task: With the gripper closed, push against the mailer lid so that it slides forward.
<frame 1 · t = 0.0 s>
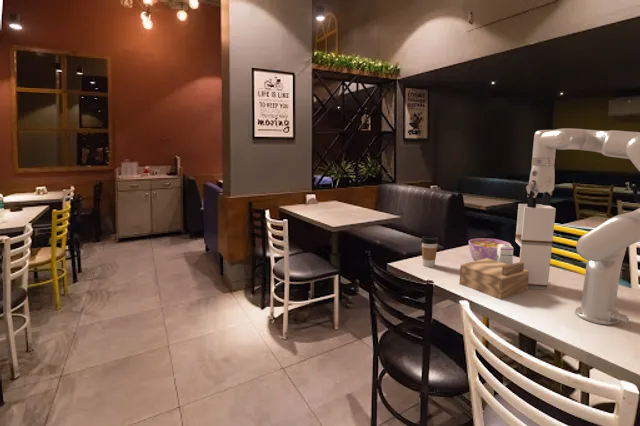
hand: (538, 206, 145), 37 cm above the table, tool pointing down, fingers open, 9 cm apart
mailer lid: (494, 264, 158), point 10 cm above the table, slide at 0.0 cm
tall white box: (529, 284, 163), on the table
bowl of food: (487, 264, 191), on the table
mailer base: (492, 287, 160), on the table
coffee cup: (428, 265, 190), on the table
syrup box: (503, 275, 175), on the table
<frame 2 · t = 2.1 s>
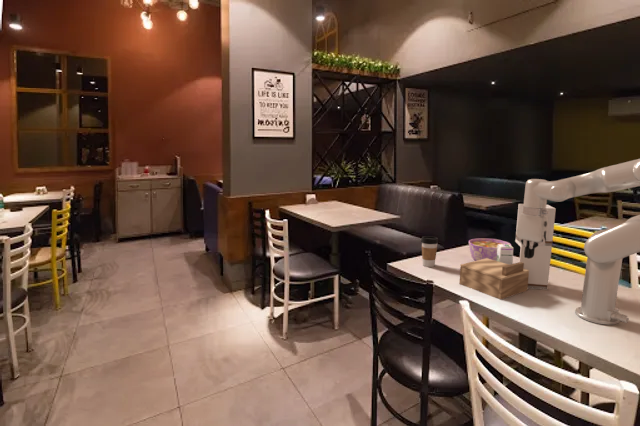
hand: (528, 257, 144), 17 cm above the table, tool pointing down, fingers closed
nothing on the table moved.
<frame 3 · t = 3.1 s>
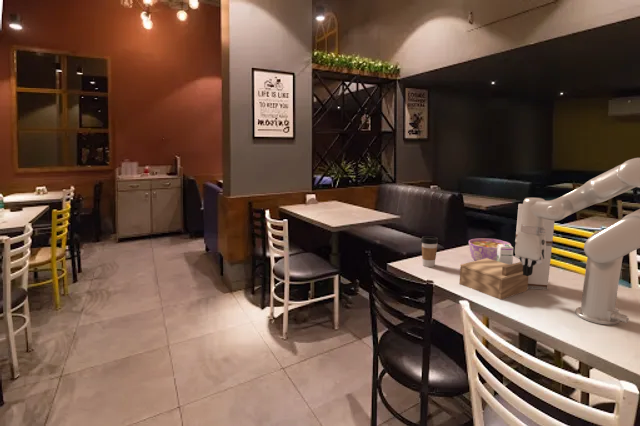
hand: (527, 274, 146), 10 cm above the table, tool pointing down, fingers closed
nothing on the table moved.
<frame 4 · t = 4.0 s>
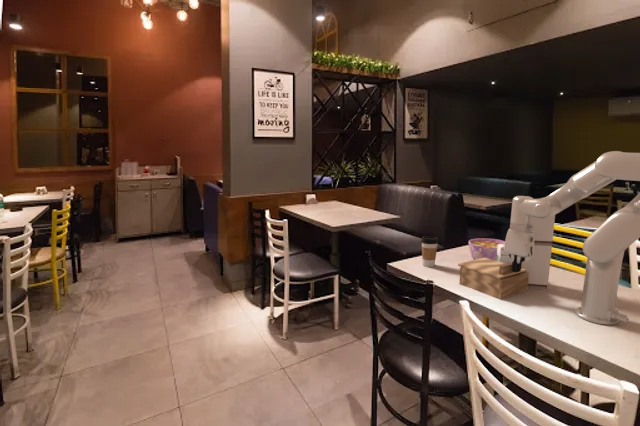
hand: (516, 271, 150), 10 cm above the table, tool pointing down, fingers closed
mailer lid: (491, 263, 159), point 10 cm above the table, slide at 1.3 cm, touching gripper
everything else where it was.
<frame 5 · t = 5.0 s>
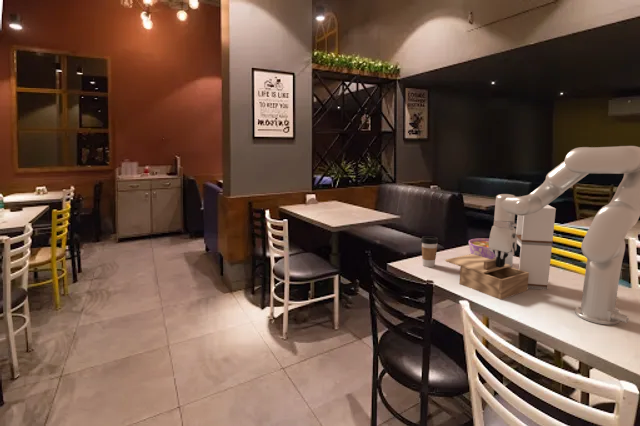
hand: (500, 266, 156), 10 cm above the table, tool pointing down, fingers closed
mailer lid: (477, 259, 165), point 10 cm above the table, slide at 8.5 cm, touching gripper
everything else where it was.
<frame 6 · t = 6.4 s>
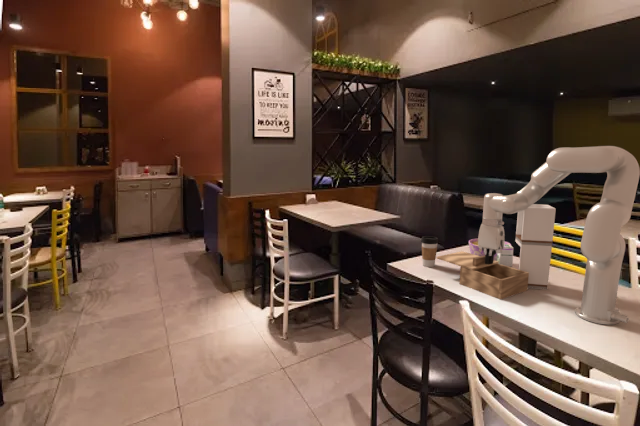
hand: (488, 263, 160), 10 cm above the table, tool pointing down, fingers closed
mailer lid: (467, 256, 170), point 10 cm above the table, slide at 13.9 cm, touching gripper
everything else where it was.
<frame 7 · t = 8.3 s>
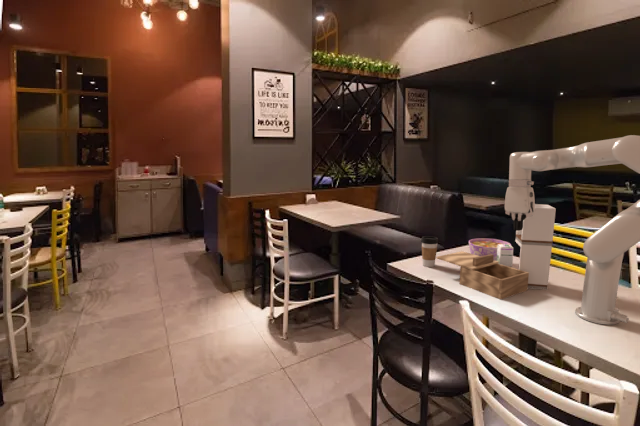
hand: (518, 229, 147), 27 cm above the table, tool pointing down, fingers closed
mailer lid: (467, 256, 170), point 10 cm above the table, slide at 13.9 cm
everything else where it was.
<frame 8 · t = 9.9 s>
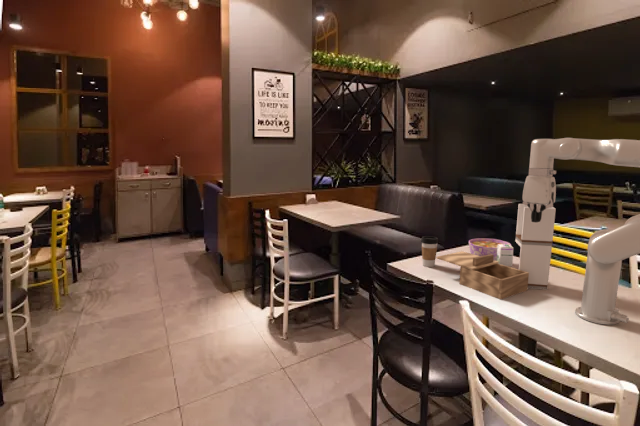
hand: (535, 221, 139), 32 cm above the table, tool pointing down, fingers closed
nothing on the table moved.
at the end: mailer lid slide at 13.9 cm; syrup box moved 0.2 cm from its start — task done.
